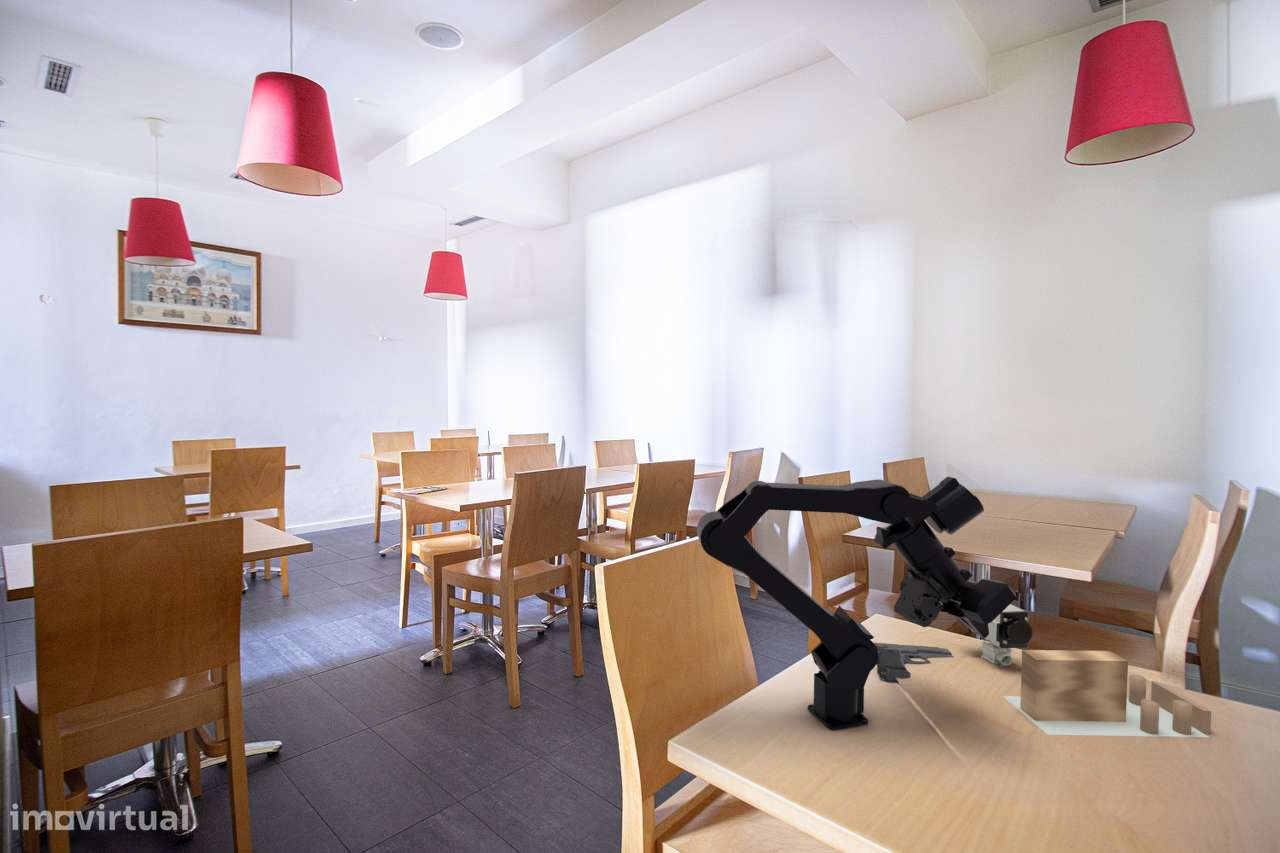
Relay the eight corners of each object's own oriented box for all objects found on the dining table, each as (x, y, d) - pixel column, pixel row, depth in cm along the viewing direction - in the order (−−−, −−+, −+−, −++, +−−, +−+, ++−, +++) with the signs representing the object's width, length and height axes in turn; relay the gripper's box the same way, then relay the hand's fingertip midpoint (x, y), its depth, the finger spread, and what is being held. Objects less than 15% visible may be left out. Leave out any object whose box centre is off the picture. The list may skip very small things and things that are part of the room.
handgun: (980, 673, 101) (946, 643, 113) (882, 666, 102) (858, 636, 114) (978, 692, 102) (944, 659, 114) (880, 685, 102) (856, 653, 114)
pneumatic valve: (986, 649, 115) (988, 587, 115) (1032, 677, 104) (1034, 608, 103) (959, 651, 115) (960, 588, 114) (1002, 679, 103) (1004, 609, 103)
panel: (1047, 740, 85) (1048, 706, 85) (1002, 701, 96) (1003, 671, 95) (1216, 742, 84) (1218, 709, 84) (1152, 703, 95) (1153, 673, 95)
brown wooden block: (1034, 720, 88) (1036, 659, 88) (1020, 708, 92) (1022, 649, 92) (1125, 721, 88) (1128, 661, 88) (1107, 709, 92) (1110, 651, 91)
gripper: (852, 577, 98) (909, 654, 98) (925, 600, 79) (995, 694, 80) (901, 534, 100) (956, 609, 100) (983, 546, 81) (1051, 638, 82)
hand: (985, 635), depth 90 cm, fingers closed
